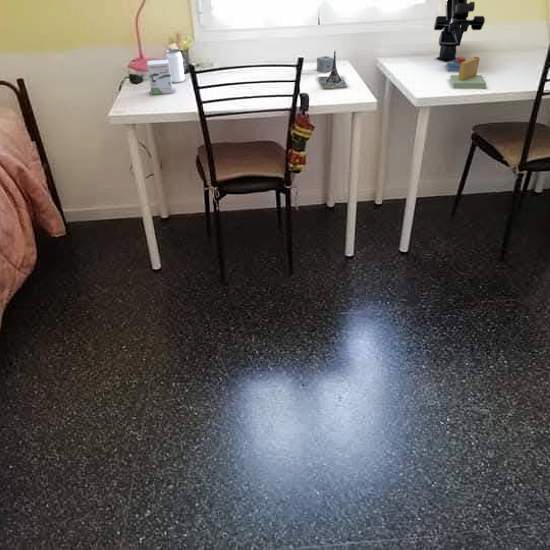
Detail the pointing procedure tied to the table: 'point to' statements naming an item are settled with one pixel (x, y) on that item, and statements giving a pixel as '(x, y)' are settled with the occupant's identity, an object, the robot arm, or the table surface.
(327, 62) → the dice cube
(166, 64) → the ink box
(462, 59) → the red button
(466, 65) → the brass bar
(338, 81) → the eiffel tower figurine
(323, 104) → the table surface
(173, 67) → the can
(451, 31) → the robot arm
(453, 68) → the button box
